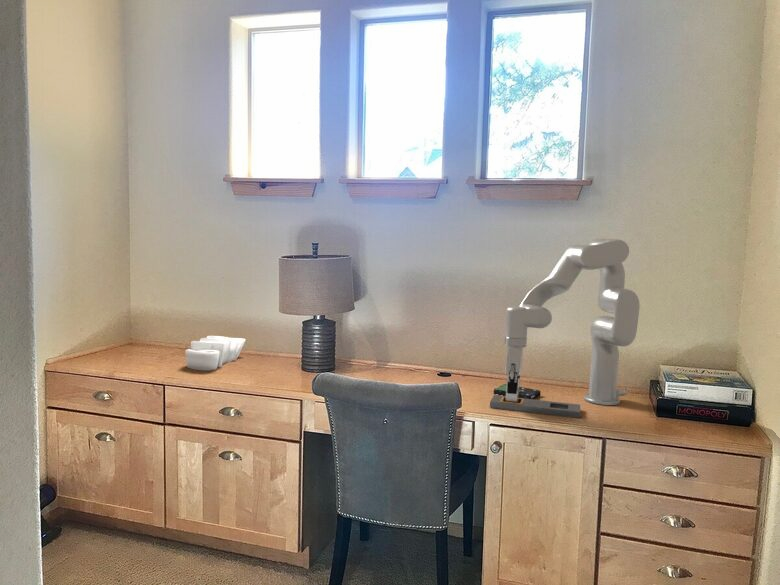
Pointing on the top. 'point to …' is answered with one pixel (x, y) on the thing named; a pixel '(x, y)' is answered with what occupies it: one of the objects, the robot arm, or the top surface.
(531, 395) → the disk drive
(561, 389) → the top surface
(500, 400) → the grey slotted board
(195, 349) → the wavy white extrusion
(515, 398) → the peg
